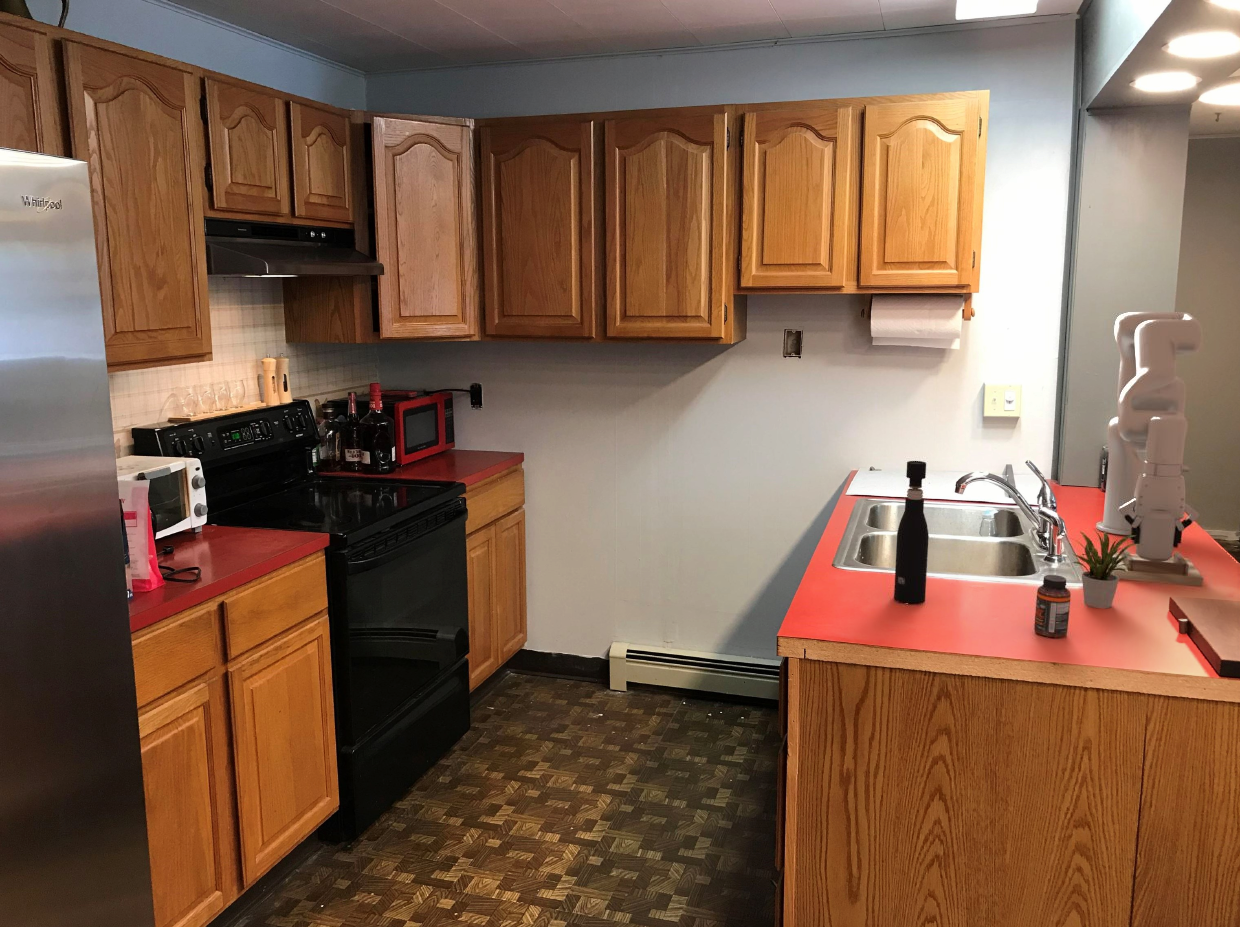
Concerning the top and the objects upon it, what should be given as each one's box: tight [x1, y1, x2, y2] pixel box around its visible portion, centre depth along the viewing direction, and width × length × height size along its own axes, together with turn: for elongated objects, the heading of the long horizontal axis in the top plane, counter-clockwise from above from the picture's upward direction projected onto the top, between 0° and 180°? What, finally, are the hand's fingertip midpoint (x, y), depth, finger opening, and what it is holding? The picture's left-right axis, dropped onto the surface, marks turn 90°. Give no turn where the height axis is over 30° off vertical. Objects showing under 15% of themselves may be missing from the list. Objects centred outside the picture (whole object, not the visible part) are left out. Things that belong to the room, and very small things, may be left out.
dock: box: [1108, 547, 1204, 587], centre depth 226 cm, size 16×18×4 cm
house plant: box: [1070, 527, 1142, 609], centre depth 203 cm, size 14×14×16 cm
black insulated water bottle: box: [893, 460, 929, 605], centre depth 205 cm, size 6×6×30 cm
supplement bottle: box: [1033, 574, 1071, 639], centre depth 187 cm, size 6×6×11 cm
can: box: [1135, 510, 1176, 562], centre depth 224 cm, size 8×8×12 cm
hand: (1154, 544), depth 224 cm, fingers closed on can, 7 cm apart
